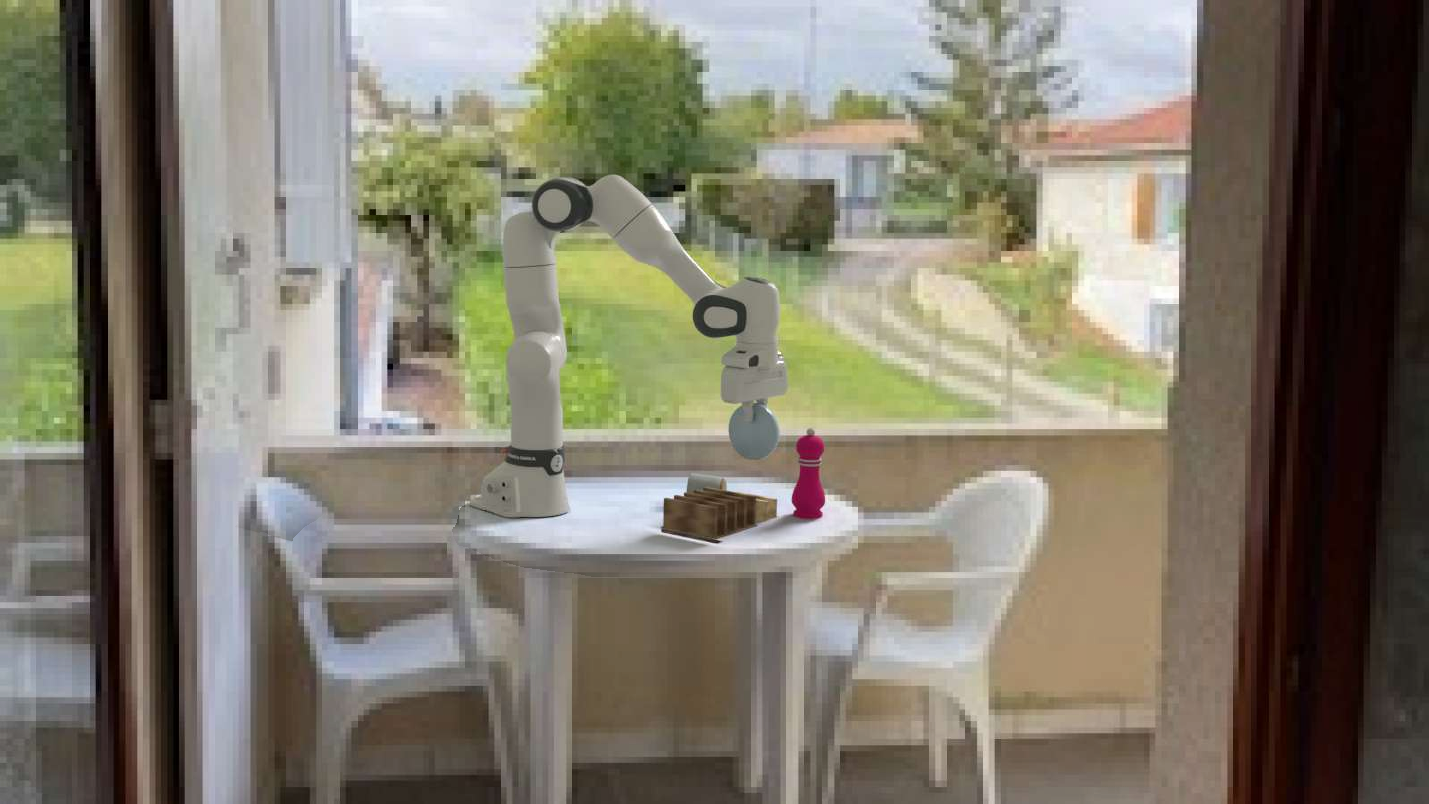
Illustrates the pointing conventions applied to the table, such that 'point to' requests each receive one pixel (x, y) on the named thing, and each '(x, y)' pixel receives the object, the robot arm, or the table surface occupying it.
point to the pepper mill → (809, 478)
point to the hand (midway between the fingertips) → (753, 420)
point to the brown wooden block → (765, 508)
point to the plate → (754, 432)
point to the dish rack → (709, 514)
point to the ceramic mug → (705, 482)
